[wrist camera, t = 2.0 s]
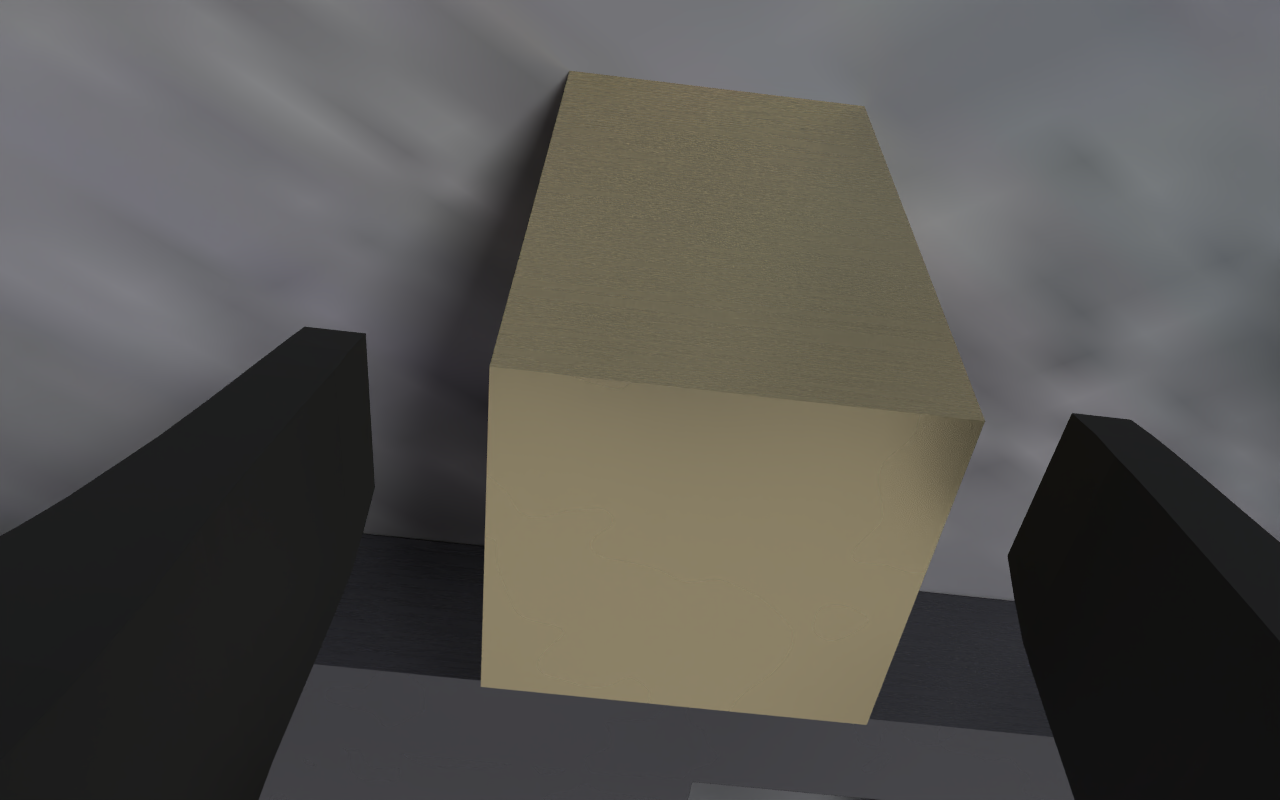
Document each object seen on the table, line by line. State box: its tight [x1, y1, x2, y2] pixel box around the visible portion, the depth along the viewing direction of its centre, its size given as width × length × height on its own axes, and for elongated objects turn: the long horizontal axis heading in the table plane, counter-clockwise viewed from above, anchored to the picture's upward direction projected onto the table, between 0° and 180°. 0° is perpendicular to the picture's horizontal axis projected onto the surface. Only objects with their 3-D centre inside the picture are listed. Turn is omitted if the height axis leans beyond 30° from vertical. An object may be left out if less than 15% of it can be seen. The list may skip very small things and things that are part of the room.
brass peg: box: [481, 71, 985, 725], centre depth 12 cm, size 4×4×7 cm
